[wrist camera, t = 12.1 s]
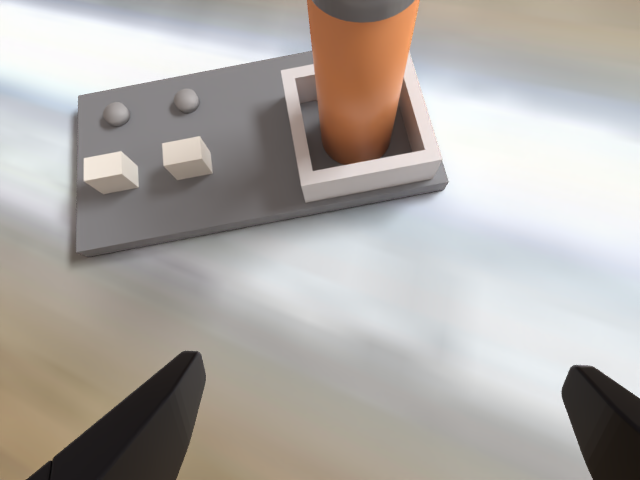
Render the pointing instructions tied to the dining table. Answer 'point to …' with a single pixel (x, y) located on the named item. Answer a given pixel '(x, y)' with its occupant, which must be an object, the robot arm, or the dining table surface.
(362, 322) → the dining table surface
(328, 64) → the capped spray can
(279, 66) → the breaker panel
